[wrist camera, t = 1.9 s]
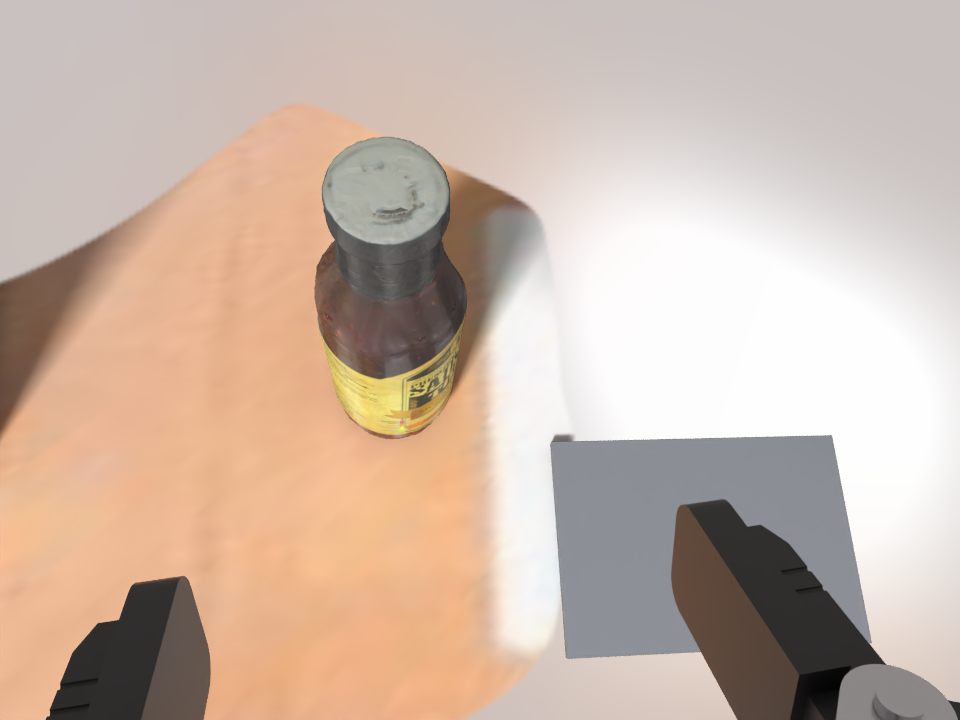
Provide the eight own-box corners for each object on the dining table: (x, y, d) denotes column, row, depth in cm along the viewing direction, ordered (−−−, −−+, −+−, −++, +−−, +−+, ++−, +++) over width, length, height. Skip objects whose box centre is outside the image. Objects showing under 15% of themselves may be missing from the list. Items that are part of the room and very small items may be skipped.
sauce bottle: (429, 458, 41) (444, 327, 22) (320, 421, 41) (243, 258, 22) (467, 350, 43) (510, 148, 24) (363, 315, 43) (327, 87, 24)
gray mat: (565, 658, 38) (568, 658, 38) (550, 444, 42) (552, 442, 41) (865, 642, 40) (871, 643, 39) (826, 437, 43) (831, 435, 43)
